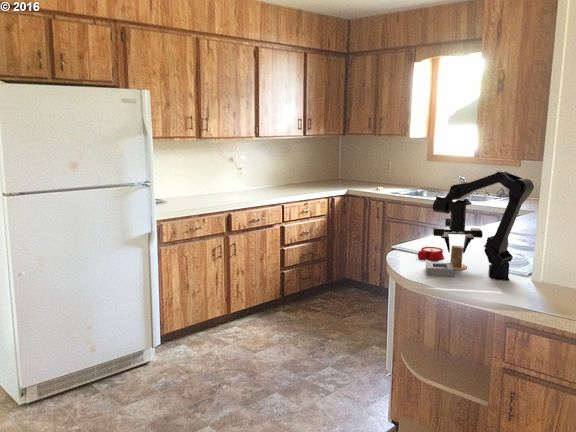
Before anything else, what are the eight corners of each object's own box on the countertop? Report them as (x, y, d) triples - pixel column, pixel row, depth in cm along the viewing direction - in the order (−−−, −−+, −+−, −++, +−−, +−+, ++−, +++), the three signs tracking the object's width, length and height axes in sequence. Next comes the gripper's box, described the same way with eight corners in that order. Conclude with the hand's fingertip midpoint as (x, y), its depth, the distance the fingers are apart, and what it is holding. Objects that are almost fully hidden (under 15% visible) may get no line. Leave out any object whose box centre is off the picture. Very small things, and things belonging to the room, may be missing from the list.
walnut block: (460, 265, 217) (461, 246, 216) (461, 267, 214) (463, 248, 212) (450, 264, 218) (451, 245, 217) (451, 266, 214) (452, 247, 213)
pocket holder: (451, 271, 212) (451, 262, 211) (453, 278, 202) (454, 269, 201) (425, 270, 214) (425, 261, 213) (426, 276, 204) (427, 268, 204)
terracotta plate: (465, 266, 219) (465, 263, 219) (468, 271, 211) (468, 269, 211) (443, 264, 221) (443, 262, 221) (444, 270, 213) (444, 268, 212)
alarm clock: (447, 248, 236) (439, 247, 223) (445, 262, 236) (438, 262, 223) (424, 245, 241) (415, 244, 228) (422, 259, 241) (413, 259, 228)
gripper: (479, 212, 218) (477, 249, 221) (433, 211, 222) (431, 247, 225) (483, 217, 207) (481, 255, 210) (434, 215, 211) (432, 253, 214)
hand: (456, 252), depth 215 cm, fingers open, 5 cm apart
